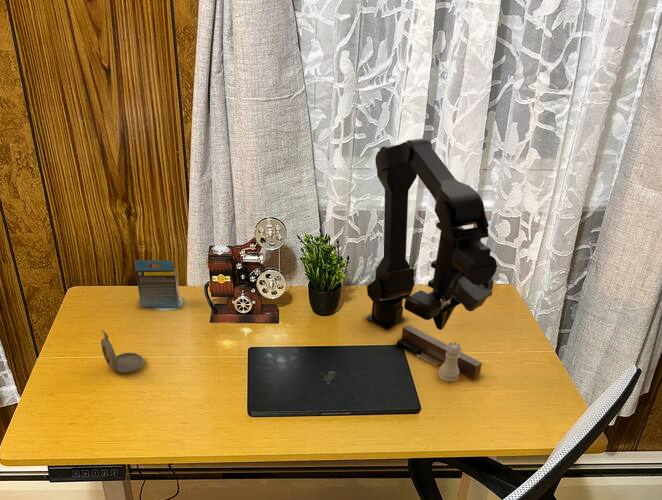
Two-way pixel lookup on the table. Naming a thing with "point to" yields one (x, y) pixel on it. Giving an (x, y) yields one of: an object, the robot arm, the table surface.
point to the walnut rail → (441, 351)
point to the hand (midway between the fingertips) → (439, 328)
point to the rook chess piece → (450, 363)
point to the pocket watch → (120, 358)
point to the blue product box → (157, 283)
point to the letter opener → (415, 351)
